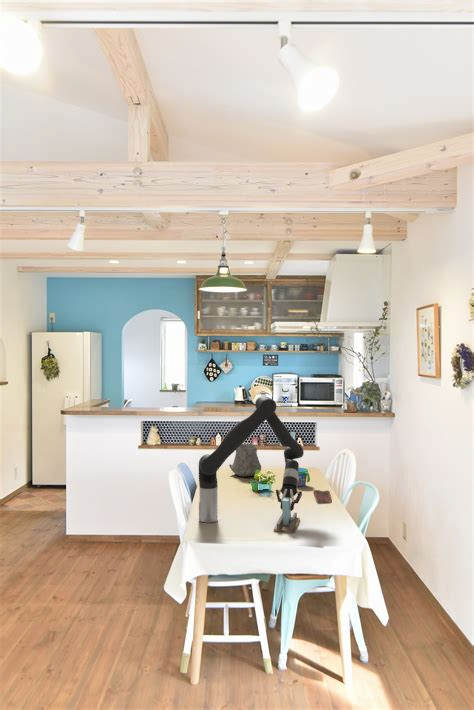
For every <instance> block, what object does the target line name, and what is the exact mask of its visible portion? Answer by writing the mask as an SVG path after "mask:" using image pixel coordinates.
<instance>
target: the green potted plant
mask: <svg viewBox="0 0 474 710" xmlns="http://www.w3.org/2000/svg"><path fill="white" fill-rule="evenodd" d="M258 474H262V475H263V473H262V472H261V471H258V470H257V471H256V472H255V475H253V477H254V480H250V481H249V483H250V487H251V489H252V490H253V491H255V492H259V491H258V482H259V477H258Z"/></svg>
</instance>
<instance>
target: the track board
mask: <svg viewBox="0 0 474 710" xmlns="http://www.w3.org/2000/svg"><path fill="white" fill-rule="evenodd" d="M300 520H301V519H300V517H298V516H297V512H294V513H293V515H292V516H291V521H290V524H289V525H283V514H282V513H281V515H280V516H279V518H278V520H277V522H276V524H275V526H274V527H273V533H274V532H275V533H284V534H285V533H286V534H295V533H296V530H297V527H298V525H299V524H300V523H299V522H300Z"/></svg>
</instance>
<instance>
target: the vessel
mask: <svg viewBox="0 0 474 710" xmlns="http://www.w3.org/2000/svg"><path fill="white" fill-rule="evenodd" d="M257 452H258V446H257V445H255V444H254V445H253V444H241V445H240V446H239V447H238V448H237V449H236V450H235V454H234V459H233V463H232V464H231V463H229V464H228V466H229V468H230V470H231V471H232V473H234V474H235V475H237V476H238V477H242V478H243V477H244V478H245V477H246V478H247V477H254V476H255V472H256V471H257V470H258V471H260V472H261V471H262V465H261V463H260V460H259V457H258V453H257Z"/></svg>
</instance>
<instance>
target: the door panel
mask: <svg viewBox="0 0 474 710" xmlns="http://www.w3.org/2000/svg"><path fill="white" fill-rule="evenodd" d="M291 502H292V500H291V498H290V497H285V498H284V499H283V500H282V509H281V511H282V513H281V515H282V514H283V525H289V524H290V521H291V517H292V511H291V510H290V508H291Z"/></svg>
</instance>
